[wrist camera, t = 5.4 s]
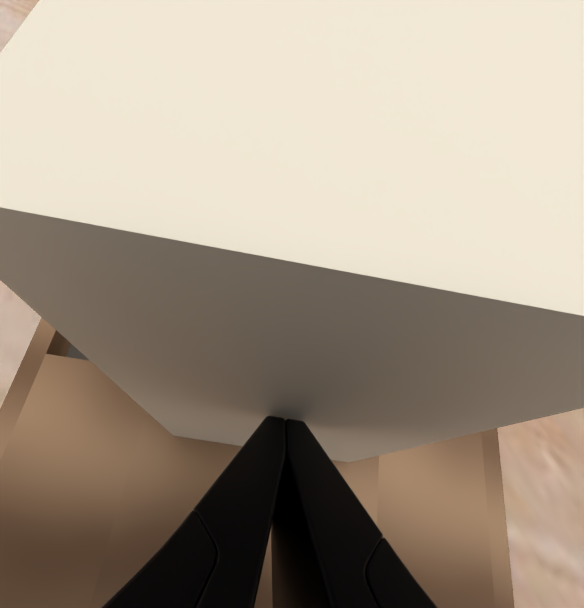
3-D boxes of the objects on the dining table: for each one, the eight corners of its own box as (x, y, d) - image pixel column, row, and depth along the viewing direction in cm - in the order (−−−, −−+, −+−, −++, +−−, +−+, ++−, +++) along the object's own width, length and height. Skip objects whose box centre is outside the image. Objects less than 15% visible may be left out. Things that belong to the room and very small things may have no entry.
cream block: (348, 462, 16) (801, 356, 3) (172, 435, 15) (-101, 187, 3) (358, 306, 19) (610, -62, 6) (212, 279, 18) (168, -173, 6)
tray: (502, 876, 13) (606, 1026, 9) (-144, 820, 12) (-313, 969, 8) (457, 218, 25) (495, 172, 21) (135, 155, 23) (117, 94, 20)
